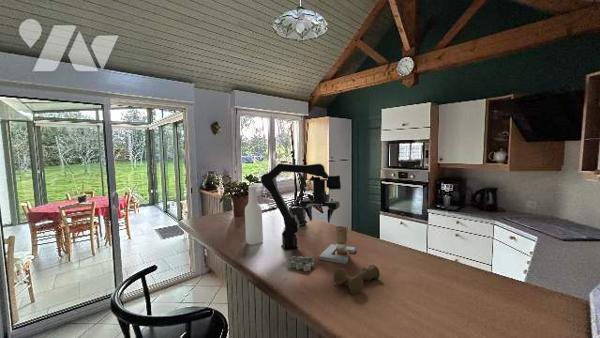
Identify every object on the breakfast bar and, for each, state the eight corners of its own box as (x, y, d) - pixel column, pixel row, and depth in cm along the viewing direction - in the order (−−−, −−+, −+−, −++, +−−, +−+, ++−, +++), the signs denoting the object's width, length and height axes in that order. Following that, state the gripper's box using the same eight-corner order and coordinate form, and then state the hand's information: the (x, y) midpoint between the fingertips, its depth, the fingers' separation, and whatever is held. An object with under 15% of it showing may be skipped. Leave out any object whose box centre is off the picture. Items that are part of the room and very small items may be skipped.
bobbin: (340, 259, 117) (339, 230, 116) (332, 254, 123) (331, 227, 122) (352, 256, 120) (351, 228, 119) (343, 251, 126) (343, 224, 125)
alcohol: (261, 238, 147) (259, 184, 145) (264, 244, 139) (262, 186, 137) (245, 240, 145) (242, 185, 142) (247, 246, 136) (244, 187, 134)
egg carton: (316, 266, 112) (316, 256, 112) (307, 273, 106) (307, 263, 105) (294, 260, 117) (294, 251, 117) (285, 267, 111) (284, 257, 111)
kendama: (385, 284, 96) (343, 300, 86) (366, 274, 104) (325, 288, 94) (385, 267, 96) (343, 281, 85) (365, 259, 104) (324, 271, 93)
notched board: (319, 259, 118) (319, 256, 118) (331, 247, 132) (331, 244, 132) (345, 263, 112) (345, 260, 112) (355, 250, 127) (355, 247, 127)
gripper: (342, 188, 133) (343, 219, 134) (308, 186, 141) (309, 216, 142) (335, 191, 123) (336, 225, 124) (298, 189, 131) (299, 221, 132)
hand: (319, 221), depth 131 cm, fingers open, 9 cm apart
